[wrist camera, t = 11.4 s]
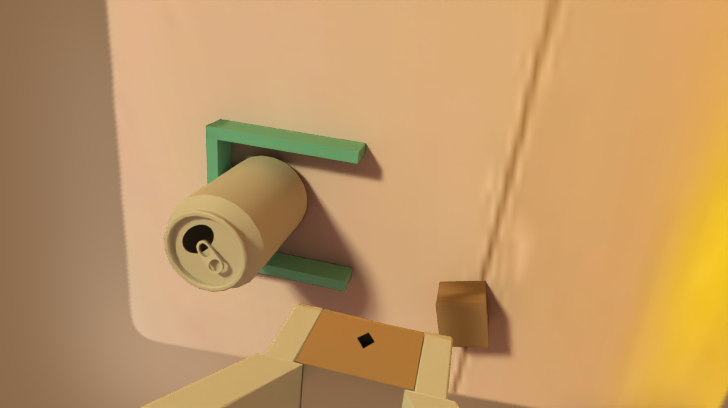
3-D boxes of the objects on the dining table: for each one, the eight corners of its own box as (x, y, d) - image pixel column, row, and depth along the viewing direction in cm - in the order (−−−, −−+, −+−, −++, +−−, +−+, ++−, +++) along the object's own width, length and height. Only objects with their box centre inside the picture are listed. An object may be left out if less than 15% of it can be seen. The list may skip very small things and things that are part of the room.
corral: (365, 143, 41) (358, 151, 39) (351, 277, 46) (344, 291, 44) (220, 119, 43) (205, 125, 41) (222, 249, 48) (209, 262, 46)
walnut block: (485, 280, 43) (485, 305, 40) (488, 319, 45) (488, 347, 41) (439, 281, 44) (435, 306, 41) (443, 318, 46) (440, 346, 42)
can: (272, 135, 42) (199, 182, 32) (327, 202, 44) (275, 269, 33) (216, 183, 45) (133, 240, 35) (270, 244, 47) (205, 317, 36)
